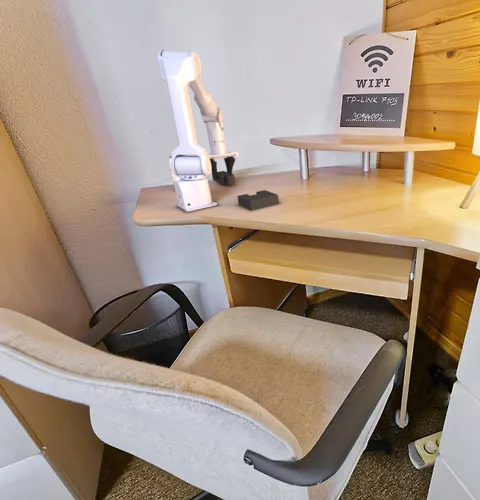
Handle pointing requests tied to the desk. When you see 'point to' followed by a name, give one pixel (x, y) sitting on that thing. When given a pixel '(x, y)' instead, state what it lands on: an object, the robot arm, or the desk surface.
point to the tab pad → (224, 178)
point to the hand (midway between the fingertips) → (223, 177)
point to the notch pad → (258, 200)
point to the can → (175, 178)
